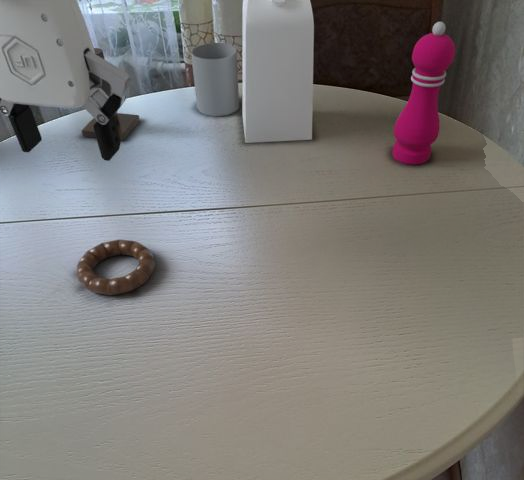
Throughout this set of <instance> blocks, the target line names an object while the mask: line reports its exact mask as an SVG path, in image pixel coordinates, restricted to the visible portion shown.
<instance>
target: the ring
mask: <svg viewBox="0 0 524 480" xmlns="http://www.w3.org/2000/svg"><path fill="white" fill-rule="evenodd" d="M119 255H123V256H129V257H130V256H131V257H133V258H135V259H137V260H138V264H137V266H136V268H135V269H134V270H132V271H131V272H130V273H127V274H126V275H125V276H119V277H115V278H114V277H113V278H105V277H99V276H97V275H96V274H95V273H94V270H95V268H96V266H97V265H98V264H99V263H100V262H102V261H103V260H106V259H108V258H111V257H114V256H119ZM155 268H156V263H155V259H154V254H153V252H152V251H151V250H150V249H149V248H148V247H147V246H146V245H143V244H142V243H141V242H139V241H135V240H127V239H120V238H119V239H115V240H109V241H104V242H100V243H99V244H97V245H96V246H94V247H93V246H92V248H90V249H88V250H87V251H85V252H84V254H83V256H82V257H81V258H80V259H79V261H78V262H77V264H76V271H77V272H76V273H77V280H78V282H79V283H80V284H81V285H82V286H83V287H85V288H86V289H87V290H89V291H90V292H91V293H94V294H101V295H107V296H115V295H120V294H125V293H130V292H132V291H134V290H136V289H137V288H139V287H140V286H142V285H143V284H145V283H146V282H148V281H149V279H150V277H151V275H152V274H153V272H154V271H155Z"/></svg>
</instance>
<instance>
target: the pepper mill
mask: <svg viewBox="0 0 524 480" xmlns="http://www.w3.org/2000/svg"><path fill="white" fill-rule="evenodd" d="M446 29H447V28H446V24H445V23H444V22H443V21H437V22H436V23H434V25H433V26H432V30H431V31H432V33H431V32H430V33H427V34H425V35H423V36H422V37H420V38H419V40H417V42H416V43H415V45H414V47H413V50H412V54H411V61H412V64H413V66H414V68H413V69H412V71H411V73H412V75H411V77H410V80H411V82H412V87H411V92H410V95H409V98H408V101H407V103H406V104H405V106H404V107H403V109H402V111H401V112H400V113H399V114H398V117H397V119H396V122H395V124H394V126H393V127H394V128H393V136H394V138H395V140H396V141H395V142H394V143H393V147H392V153H391V154H392V157H393V159H395V160H396V161H397V162H399V163H402V164H405V165H412V166H413V165H414V166H416V165H422V164H425V163H426V162H427V161H429V159H430V157H431V153H432V149H433V147H432V144H433V143H435V142H436V141H437V139H438V137H439V134H440V128H441V127H440V125H441V123H440V116H439V109H438V97H439V92H440V89H441V86H442V85H443V84H444V83H445V80H446V79H445V78H446V76H447V72H446V70H447V69H448V68H449V67H450V66H451V65H452V64H453V62H454V58H455V54H456V46H455V42H454V41H453V39H452V38H451V37H450V36H449V35H448V34H445V31H446Z"/></svg>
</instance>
